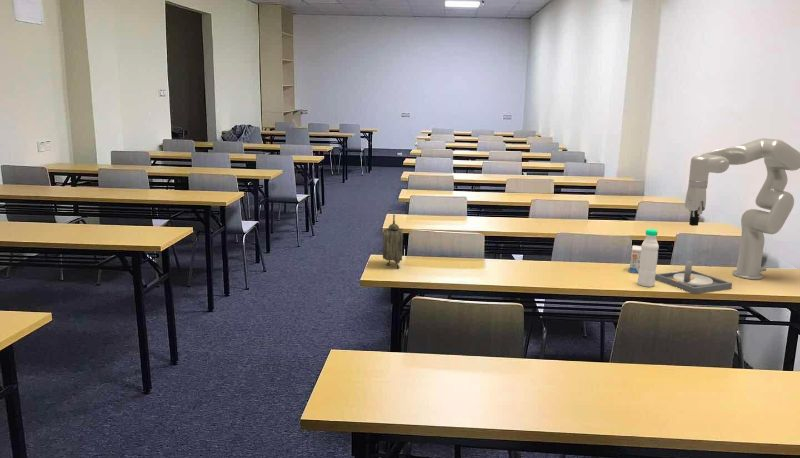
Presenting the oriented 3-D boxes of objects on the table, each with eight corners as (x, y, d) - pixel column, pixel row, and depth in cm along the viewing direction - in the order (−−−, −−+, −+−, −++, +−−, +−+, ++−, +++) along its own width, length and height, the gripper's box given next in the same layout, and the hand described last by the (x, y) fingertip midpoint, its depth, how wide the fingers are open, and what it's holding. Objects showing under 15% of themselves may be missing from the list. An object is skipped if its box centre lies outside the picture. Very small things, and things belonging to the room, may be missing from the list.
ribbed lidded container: (401, 270, 284) (402, 217, 279) (382, 269, 284) (383, 217, 279) (402, 261, 298) (402, 212, 293) (383, 261, 299) (384, 211, 293)
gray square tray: (690, 275, 285) (691, 269, 284) (731, 288, 265) (732, 282, 264) (654, 279, 277) (655, 273, 276) (693, 293, 257) (694, 287, 256)
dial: (681, 274, 281) (684, 252, 279) (718, 281, 270) (721, 259, 268) (666, 280, 270) (669, 258, 268) (704, 289, 259) (707, 265, 257)
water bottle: (655, 287, 264) (662, 232, 259) (638, 286, 266) (644, 230, 260) (652, 283, 271) (658, 228, 266) (636, 281, 272) (641, 227, 267)
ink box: (629, 272, 287) (631, 248, 285) (629, 268, 295) (631, 244, 292) (648, 274, 284) (651, 250, 282) (648, 270, 292) (651, 246, 289)
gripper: (681, 182, 274) (677, 221, 278) (697, 187, 259) (693, 228, 263) (698, 182, 274) (694, 221, 278) (714, 187, 259) (710, 228, 263)
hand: (693, 225), depth 270 cm, fingers closed
